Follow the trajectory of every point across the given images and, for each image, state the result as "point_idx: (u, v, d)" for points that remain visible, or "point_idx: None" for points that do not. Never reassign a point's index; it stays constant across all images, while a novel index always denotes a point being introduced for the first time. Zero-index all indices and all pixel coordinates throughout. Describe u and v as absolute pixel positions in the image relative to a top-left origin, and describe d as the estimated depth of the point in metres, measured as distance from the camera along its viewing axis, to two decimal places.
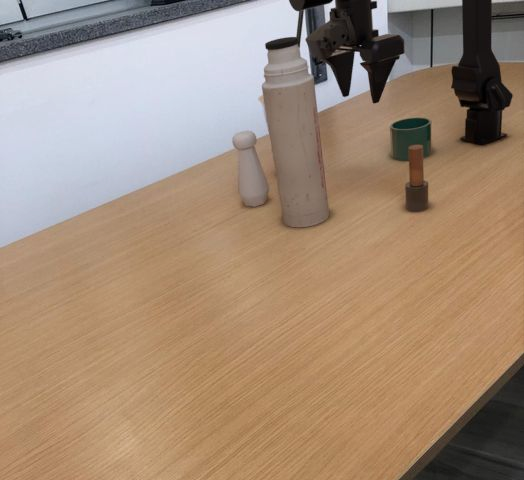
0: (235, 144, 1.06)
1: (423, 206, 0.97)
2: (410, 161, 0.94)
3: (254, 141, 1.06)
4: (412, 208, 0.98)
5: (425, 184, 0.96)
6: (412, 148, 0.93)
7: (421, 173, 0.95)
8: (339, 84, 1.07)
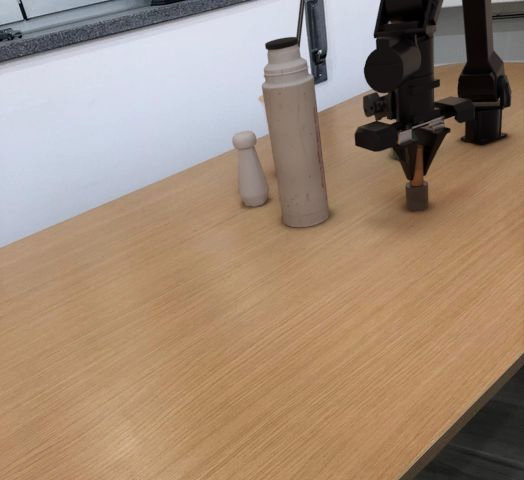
0: (235, 144, 1.06)
1: (423, 206, 0.97)
2: None
3: (254, 141, 1.06)
4: (412, 208, 0.98)
5: (425, 184, 0.96)
6: None
7: (421, 173, 0.95)
8: None
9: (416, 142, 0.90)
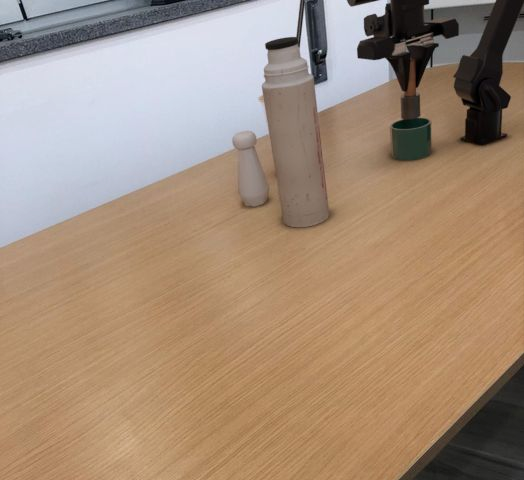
0: (235, 144, 1.06)
1: (416, 114, 1.13)
2: None
3: (254, 141, 1.06)
4: (406, 116, 1.14)
5: (417, 94, 1.12)
6: None
7: (414, 84, 1.11)
8: None
9: (409, 53, 1.05)
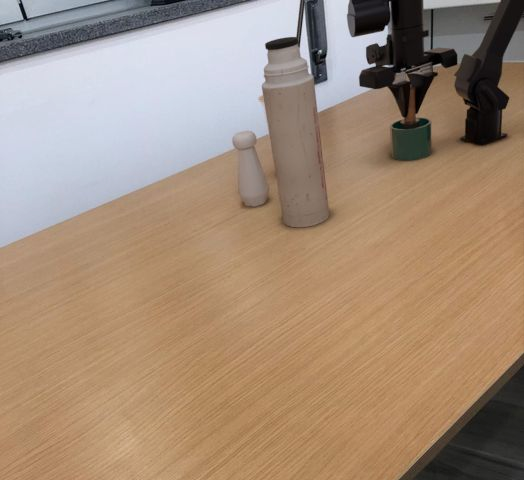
0: (235, 144, 1.06)
1: None
2: None
3: (254, 141, 1.06)
4: None
5: (417, 120, 1.16)
6: None
7: (413, 111, 1.15)
8: None
9: (409, 82, 1.10)
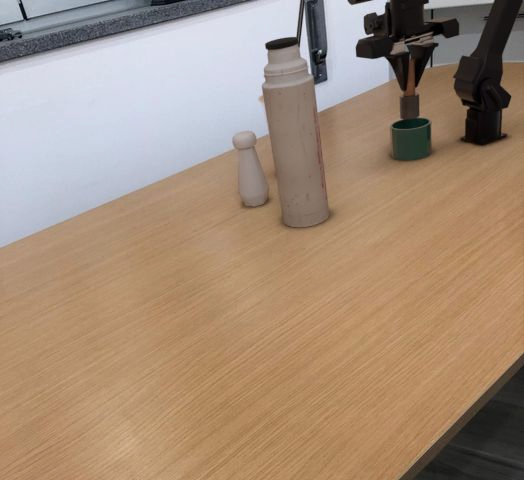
0: (235, 144, 1.06)
1: (415, 114, 1.12)
2: None
3: (254, 141, 1.06)
4: (405, 116, 1.13)
5: (416, 94, 1.11)
6: None
7: (413, 84, 1.10)
8: None
9: (408, 53, 1.05)
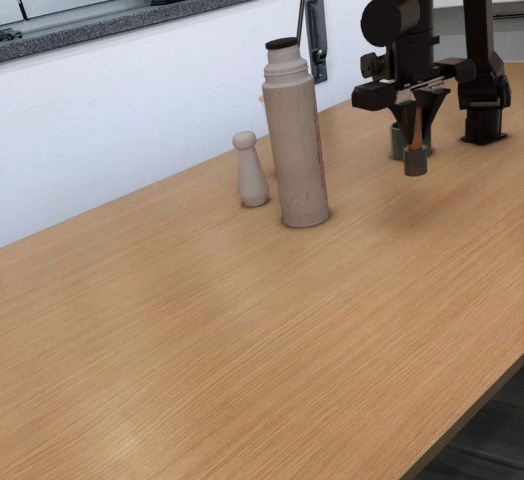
0: (235, 144, 1.06)
1: (422, 171, 0.94)
2: None
3: (254, 141, 1.06)
4: (411, 173, 0.95)
5: (424, 148, 0.93)
6: None
7: (420, 136, 0.92)
8: None
9: (415, 102, 0.87)
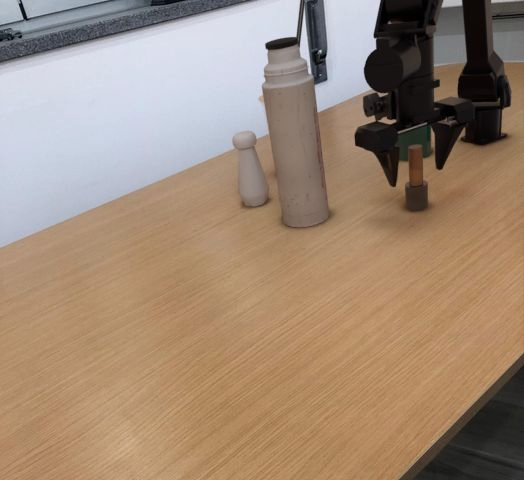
0: (235, 144, 1.06)
1: (423, 206, 0.98)
2: (410, 161, 0.95)
3: (254, 141, 1.06)
4: (412, 208, 0.98)
5: (425, 184, 0.96)
6: (411, 148, 0.93)
7: (421, 173, 0.95)
8: None
9: (398, 148, 0.89)
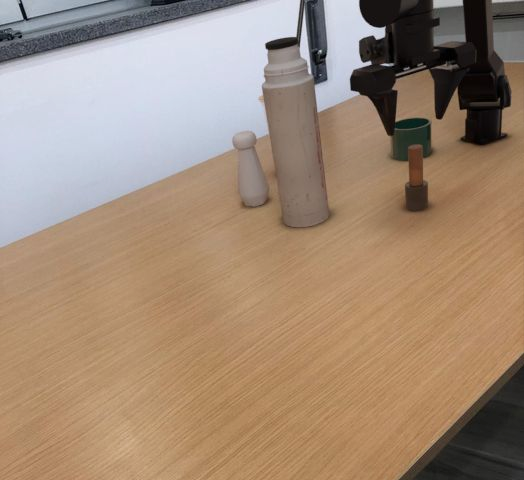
0: (235, 144, 1.06)
1: (423, 206, 0.98)
2: (410, 161, 0.95)
3: (254, 141, 1.06)
4: (412, 208, 0.98)
5: (425, 184, 0.96)
6: (411, 148, 0.93)
7: (421, 173, 0.95)
8: None
9: (395, 92, 0.84)
